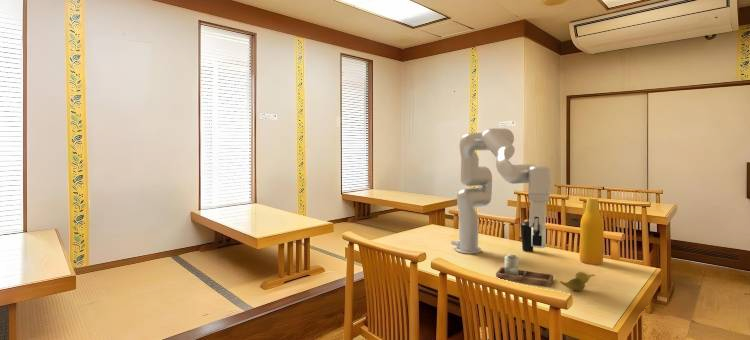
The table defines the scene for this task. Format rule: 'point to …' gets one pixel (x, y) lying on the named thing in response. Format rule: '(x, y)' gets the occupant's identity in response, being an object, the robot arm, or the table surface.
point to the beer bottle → (591, 234)
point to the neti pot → (577, 281)
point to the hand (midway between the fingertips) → (538, 243)
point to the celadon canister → (543, 234)
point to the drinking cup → (526, 235)
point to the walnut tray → (522, 273)
